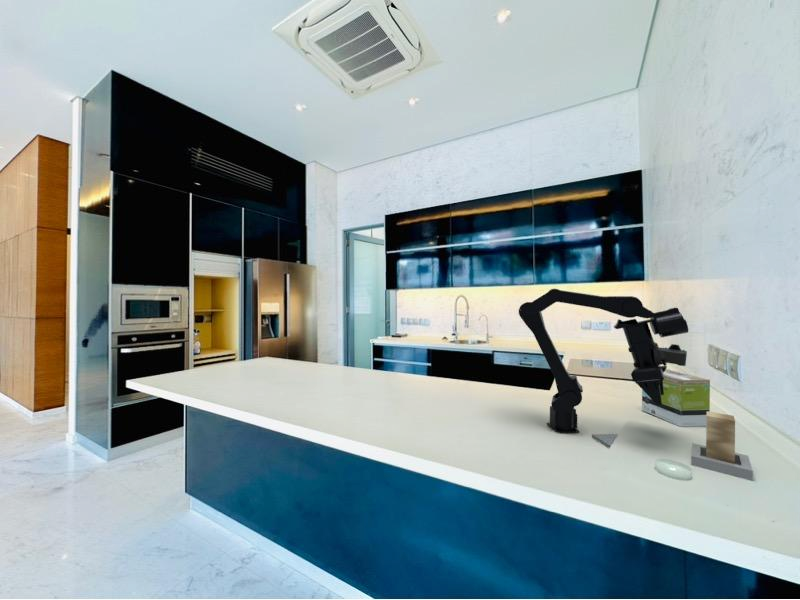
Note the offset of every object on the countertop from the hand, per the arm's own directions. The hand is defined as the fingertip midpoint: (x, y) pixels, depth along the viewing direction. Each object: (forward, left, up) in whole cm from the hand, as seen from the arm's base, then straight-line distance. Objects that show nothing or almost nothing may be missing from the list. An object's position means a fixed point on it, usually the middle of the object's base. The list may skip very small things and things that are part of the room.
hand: (660, 399), depth 87 cm
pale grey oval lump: (-11, -15, -12) cm, 22 cm away
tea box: (+22, +20, -12) cm, 32 cm away
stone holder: (+3, -12, -12) cm, 17 cm away
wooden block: (+3, -12, -11) cm, 17 cm away
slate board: (-8, -1, -12) cm, 14 cm away
